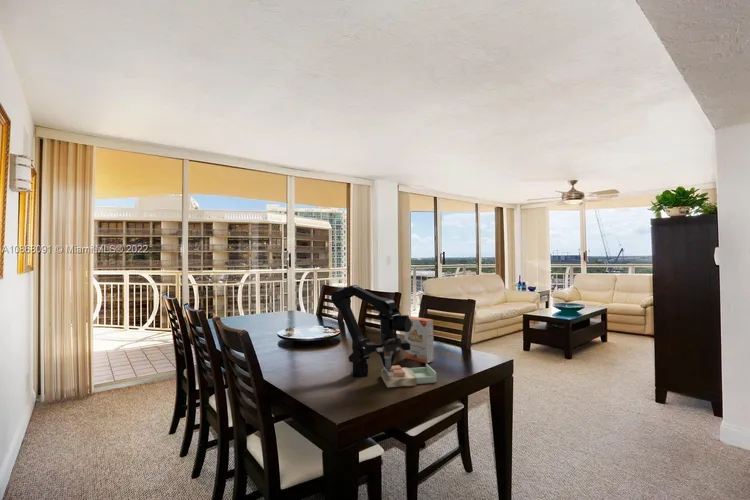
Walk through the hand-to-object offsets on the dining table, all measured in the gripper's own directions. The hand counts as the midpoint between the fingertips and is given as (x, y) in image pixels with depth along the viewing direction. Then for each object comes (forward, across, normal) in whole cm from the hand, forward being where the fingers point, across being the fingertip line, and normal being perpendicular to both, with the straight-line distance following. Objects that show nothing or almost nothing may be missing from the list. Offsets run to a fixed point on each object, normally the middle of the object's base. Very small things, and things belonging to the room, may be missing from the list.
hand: (387, 366), depth 158 cm
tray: (+6, +15, 0) cm, 16 cm away
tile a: (+3, +4, -3) cm, 6 cm away
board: (+6, +4, -1) cm, 7 cm away
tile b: (+3, +4, +3) cm, 6 cm away
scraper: (+2, 0, 0) cm, 2 cm away
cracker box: (+6, +21, +26) cm, 34 cm away
